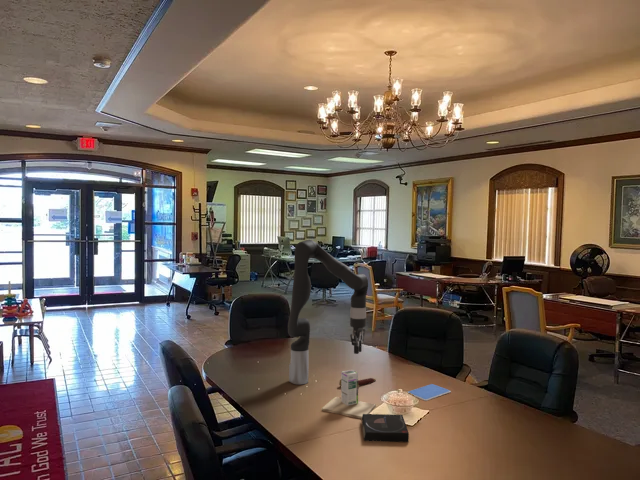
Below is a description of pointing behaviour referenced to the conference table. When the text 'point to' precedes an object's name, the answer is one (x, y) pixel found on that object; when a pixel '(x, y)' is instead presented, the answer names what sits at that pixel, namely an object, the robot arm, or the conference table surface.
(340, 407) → the folded beige cloth
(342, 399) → the syrup box
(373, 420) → the portable cd player
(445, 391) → the tablet computer
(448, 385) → the conference table surface
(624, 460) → the conference table surface
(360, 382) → the gavel
